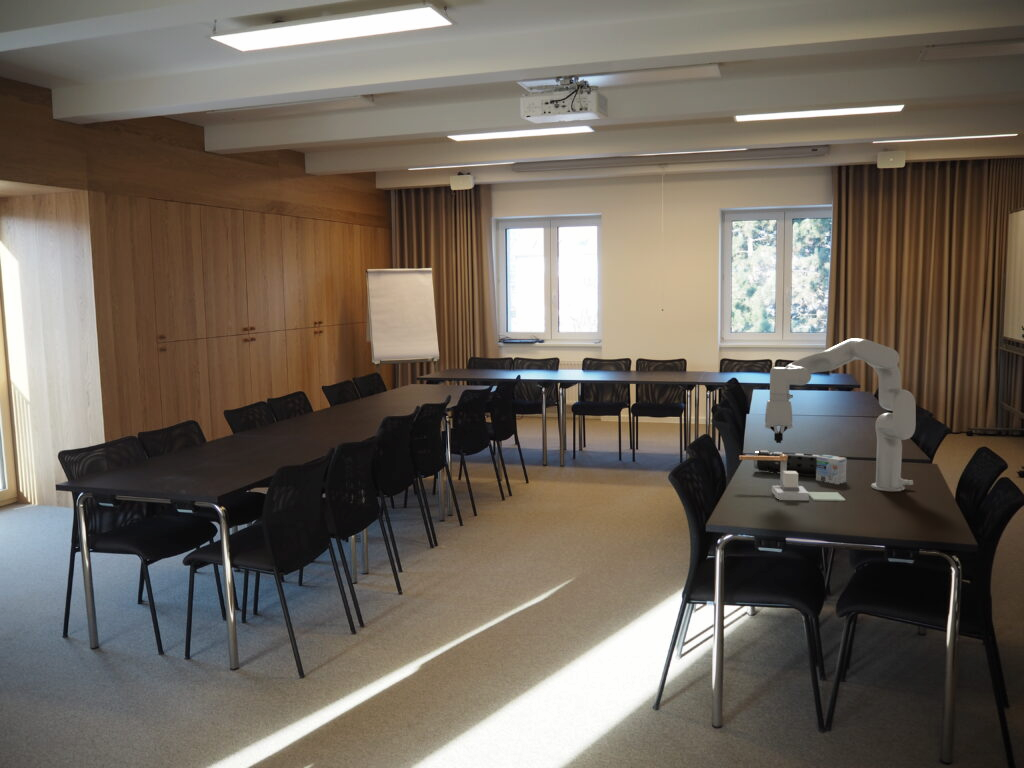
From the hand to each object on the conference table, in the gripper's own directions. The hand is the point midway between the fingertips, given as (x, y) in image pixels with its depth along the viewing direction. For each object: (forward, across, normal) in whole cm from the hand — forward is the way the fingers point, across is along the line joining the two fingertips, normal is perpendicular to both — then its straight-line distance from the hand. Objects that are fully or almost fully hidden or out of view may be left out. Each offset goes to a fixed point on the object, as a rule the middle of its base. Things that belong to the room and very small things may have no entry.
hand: (778, 442), depth 345 cm
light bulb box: (+22, -26, -25) cm, 43 cm away
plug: (+21, -4, +4) cm, 22 cm away
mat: (+21, -18, +4) cm, 28 cm away
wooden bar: (+9, +4, -10) cm, 14 cm away
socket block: (+21, -4, 0) cm, 22 cm away
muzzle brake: (+22, -10, -38) cm, 45 cm away
